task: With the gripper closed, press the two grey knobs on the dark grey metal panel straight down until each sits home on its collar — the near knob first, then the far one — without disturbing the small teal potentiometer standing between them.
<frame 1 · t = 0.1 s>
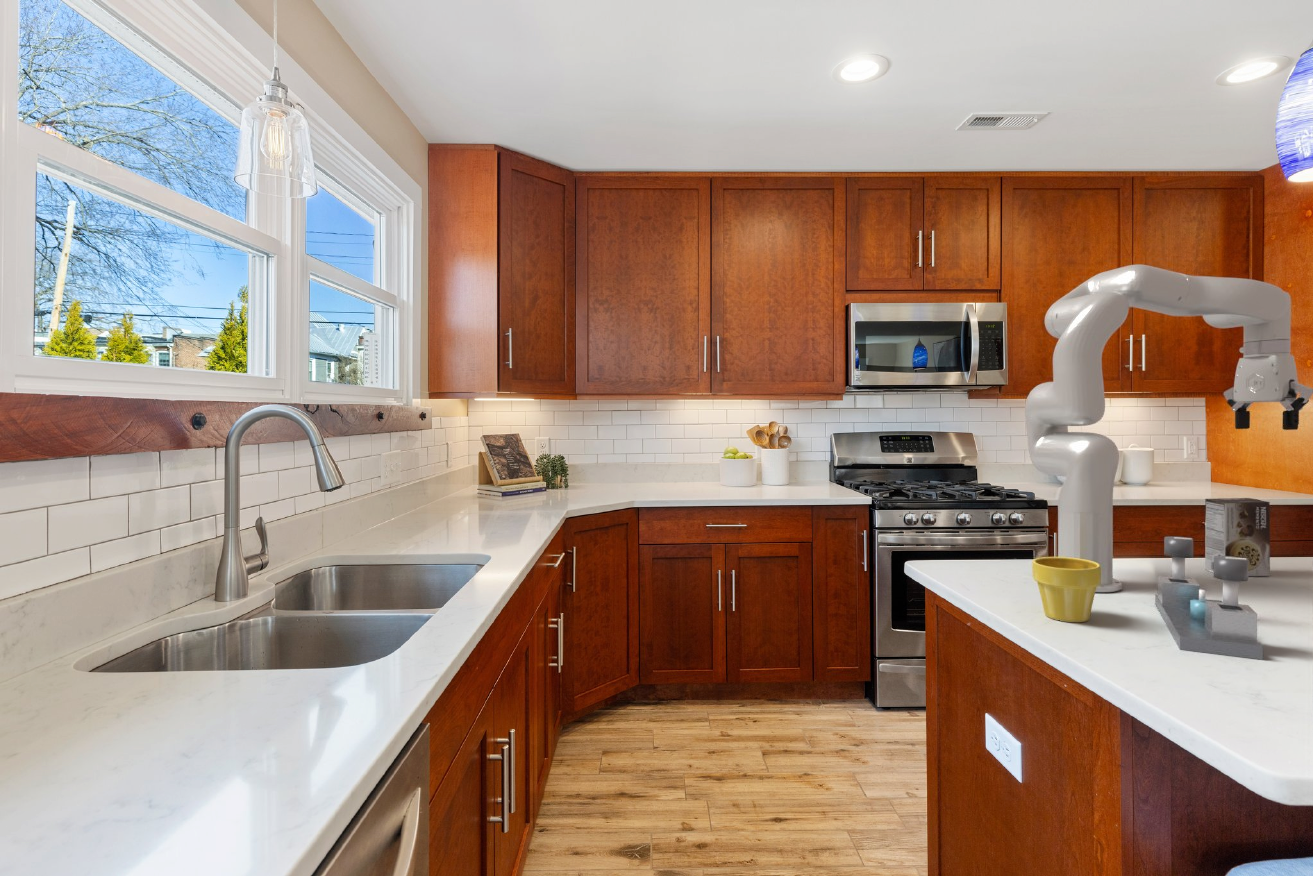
hand: (1265, 429, 146), 31 cm above the counter, tool pointing down, fingers open, 9 cm apart
knob far: (1178, 557, 118), point 10 cm above the counter, slide at 0.0 cm
plant pot: (1065, 618, 119), on the counter
mount: (1202, 629, 111), on the counter
potentiometer: (1201, 617, 111), point 2 cm above the counter, touching mount
knob near: (1230, 580, 102), point 10 cm above the counter, slide at 0.0 cm
coffee box: (1236, 574, 146), on the counter
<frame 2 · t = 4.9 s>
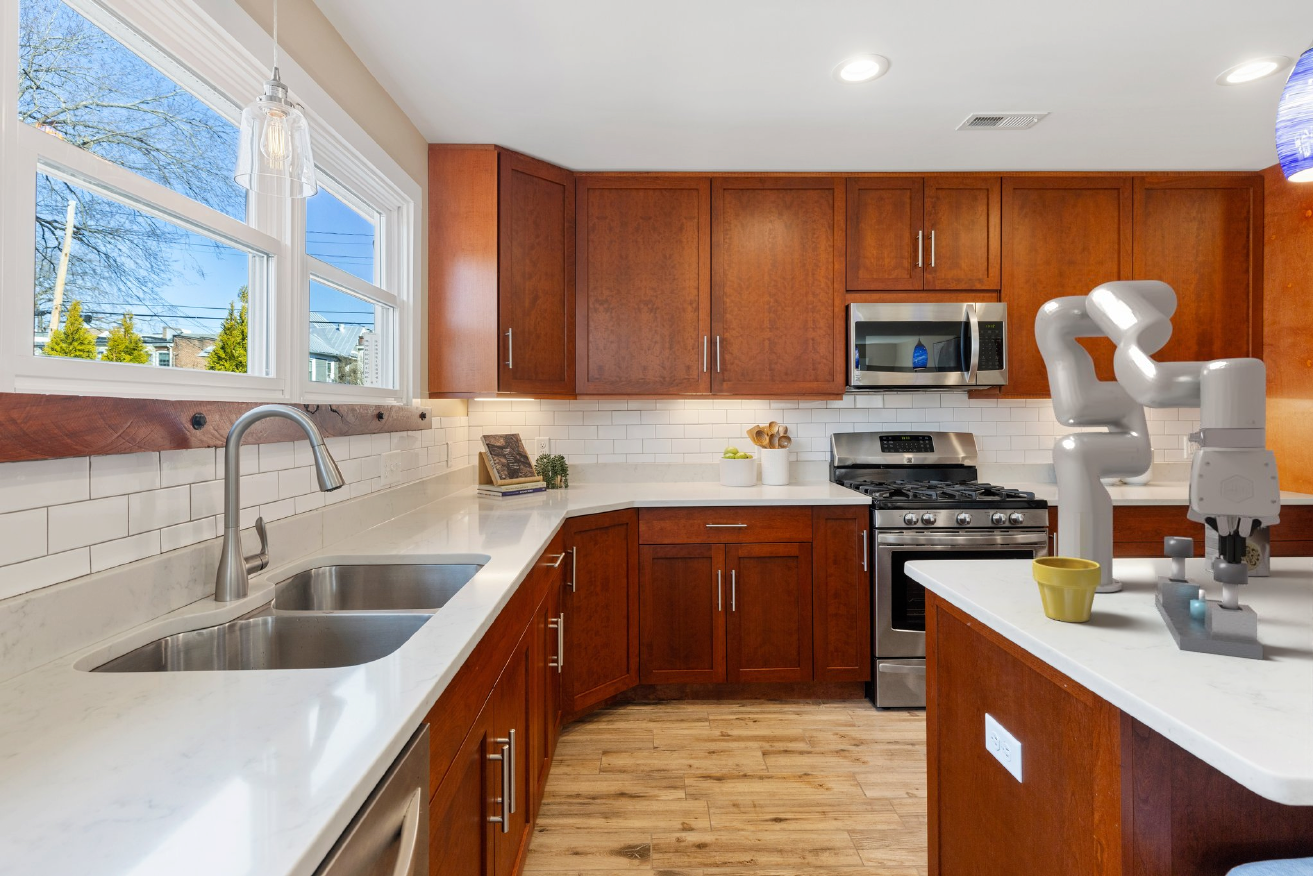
hand: (1231, 560, 102), 13 cm above the counter, tool pointing down, fingers closed
knob near: (1230, 584, 102), point 10 cm above the counter, slide at 0.5 cm, touching gripper
everything else where it was.
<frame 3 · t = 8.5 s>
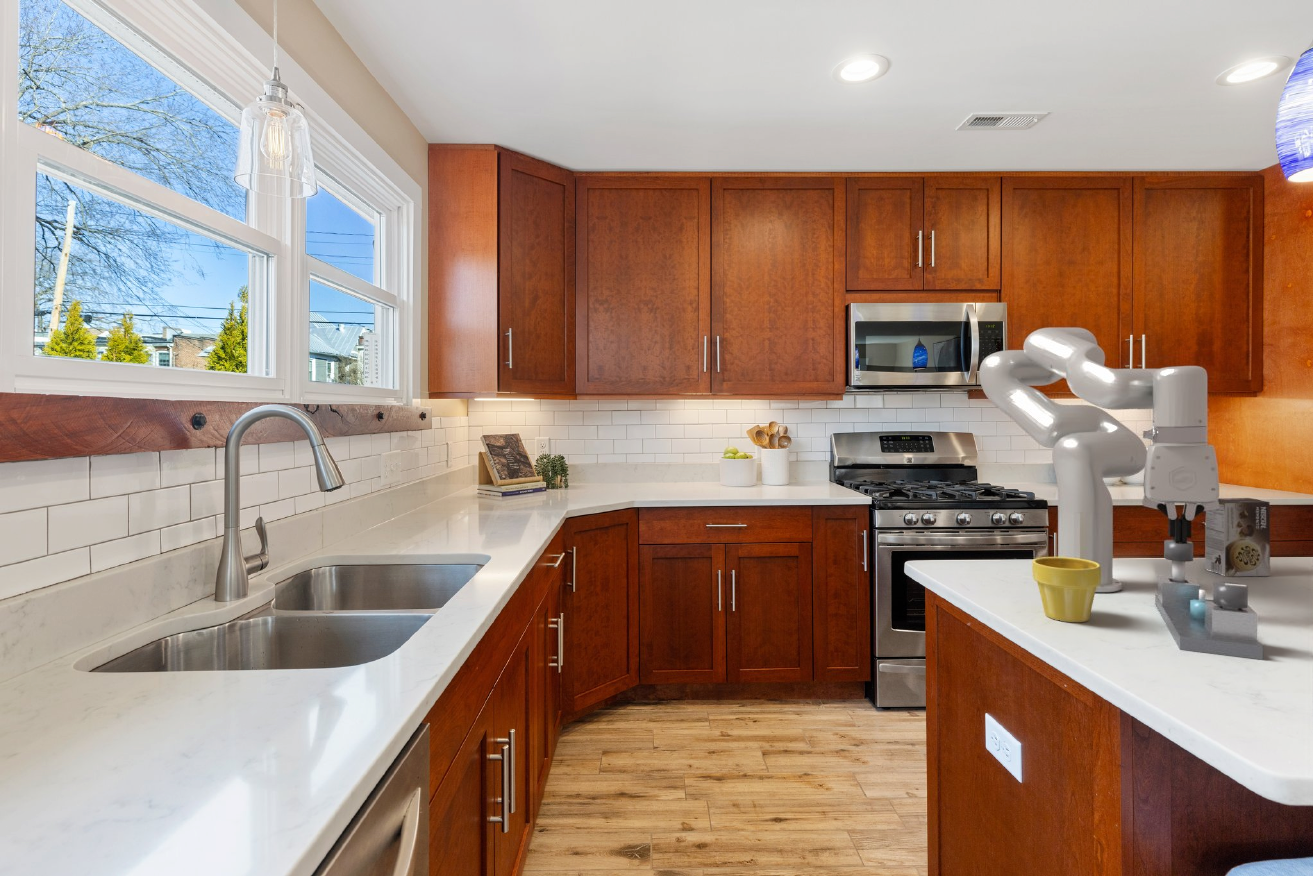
hand: (1179, 541, 118), 13 cm above the counter, tool pointing down, fingers closed
knob far: (1178, 561, 118), point 9 cm above the counter, slide at 0.6 cm, touching gripper
knob near: (1230, 607, 103), point 6 cm above the counter, slide at 4.1 cm
everything else where it was.
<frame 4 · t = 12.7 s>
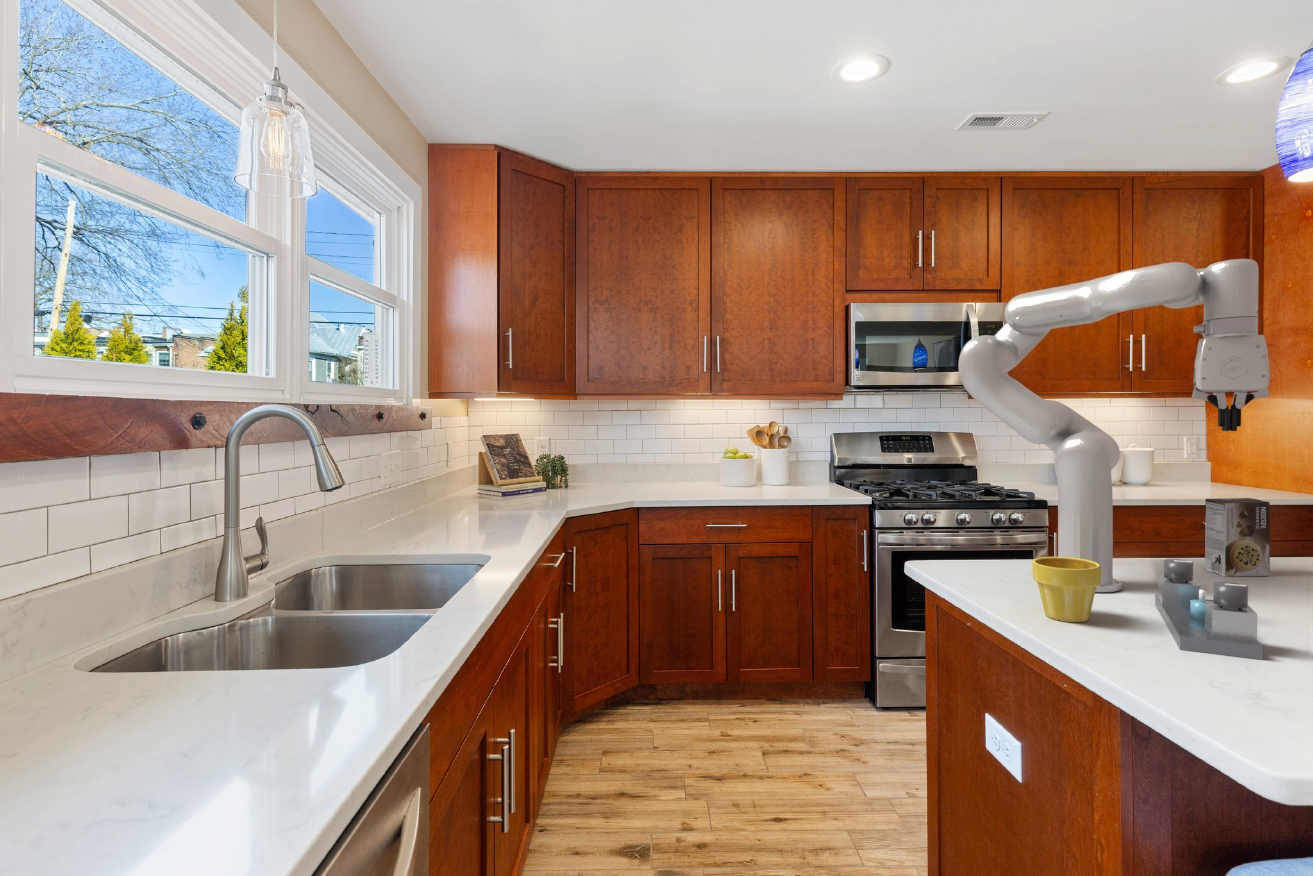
hand: (1229, 430, 123), 32 cm above the counter, tool pointing down, fingers closed
knob far: (1178, 580, 118), point 6 cm above the counter, slide at 4.1 cm
everything else where it was.
at the end: knob near slide at 4.1 cm; knob far slide at 4.1 cm; potentiometer moved 0.0 cm from its start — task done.
